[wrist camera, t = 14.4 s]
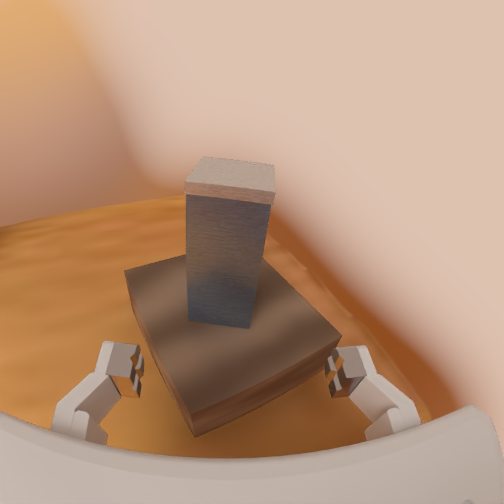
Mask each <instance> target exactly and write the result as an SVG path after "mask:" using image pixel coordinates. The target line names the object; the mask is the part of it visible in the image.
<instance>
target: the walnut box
mask: <svg viewBox="0 0 504 504" xmlns="http://www.w3.org/2000/svg"><path fill="white" fill-rule="evenodd" d="M124 272H125V277H126V282H127V287H128V291H129V296H130V300H131V305H132V309H133V312H134V314H135V317H136V319H137V322H138V324H139V327H140V329H141V331H142V334H143V336H144V338H145V341H146V343H147V345H148V348H149V350H150V352H151V354H152V357H153V359H154V361H155V363H156V365H157V367H158V369H159V372H160V374H161V376H162V378H163V380H164V382H165V384H166V386H167V388H168V390H169V392H170V394H171V396H172V397H173V399H174V401H175V403H176V405H177V407H178V409H179V411H180V412H181V414H182V416H183V418H184V420H185V421H186V423H187V425H188V426H189V428H190V430H191V432H192V433H193V435H194V437H197V436H200V435H202V434H204V433H207V432H209V431H211V430H213V429H216V428H218V427H220V426H222V425H224V424H226V423H228V422H231V421H233V420H235V419H237V418H239V417H241V416H243V415H245V414H247V413H249V412H251V411H253V410H255V409H257V408H258V407H260V406H262V405H264V404H266V403H268V402H270V401H271V400H273V399H275V398H277V397H279V396H280V395H282V394H284V393H286V392H287V391H289V390H291V389H292V388H294V387H296V386H298V385H299V384H301V383H302V382H304V381H306V380H307V379H309V378H311V377H312V376H314V375H315V374H317V373H319V372H320V371H322V370H323V369H324V367H325V362H326V360H327V358H328V357H330V356H331V351H332V349H334V348H336V346H337V344H338V342H339V341H340V339H341V337H342V335H341V334H340V333H339V332H338V331H337V330H336V329H335V328H334V327H333V326H332V325H331V324H330V323H329V322H328V321H327V320H326V319H325V318H324V317H323V316H322V315H321V314H320V313H319V312H318V311H317V310H316V309H315V308H314V307H313V306H312V305H310V304H309V303H308V302H307V301H306V300H305V299H304V298H303V297H302V296H301V295H300V294H299V293H298V292H297V291H296V290H295V289H294V288H293V287H292V286H291V285H290V284H289V283H288V282H287V281H286V280H285V279H284V278H283V277H282V276H281V275H280V274H279V273H278V272H277V271H276V270H274V269H273V268H272V267H271V266H270V265H269V264H268V263H267V262H266V261H265V260H264V259H263V258H262V262H261V267H260V273H259V278H258V284H257V289H256V295H255V300H254V306H253V311H252V317H251V322H250V328H249V329H247V328H239V327H231V326H224V325H217V324H210V323H203V322H197V321H191V320H188V304H187V276H186V255H182V256H178V257H174V258H170V259H166V260H163V261H159V262H155V263H151V264H147V265H144V266H140V267H136V268H132V269H129V270H125V271H124Z"/></svg>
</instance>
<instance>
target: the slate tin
mask: <svg viewBox="0 0 504 504" xmlns="http://www.w3.org/2000/svg"><path fill="white" fill-rule="evenodd" d="M184 194H186V276H187V304H188V320H191V321H197V322H203V323H210V324H217V325H224V326H231V327H239V328H247V329H249V328H250V322H251V317H252V311H253V306H254V300H255V295H256V289H257V284H258V278H259V273H260V267H261V262H262V256H263V250H264V245H265V239H266V233H267V227H268V222H269V216H270V210H271V205H273V204H274V198H275V172H274V165H270V164H263V163H256V162H248V161H240V160H232V159H223V158H213V157H203V158H202V159H201V160H200V162H199V163H198V164H197V166H196V167H195V168H194V169H193V171H192V172H191V173H190V175H189V176H188V177H187V178H186V180H185V181H184Z"/></svg>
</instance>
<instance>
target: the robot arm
mask: <svg viewBox="0 0 504 504" xmlns="http://www.w3.org/2000/svg"><path fill="white" fill-rule="evenodd" d="M140 350H141V349H140V347H139V345H136V344H127V343H120V342H113V341H106V340H105V341H104V342H103V344H102V346H101V350H100V353H99V357H98V360H97V364H96V367H95V371H94V373H93V372H91V373H90V374H89V375H87V376H86V377H85V378H84V379H83V380H82V381H81V382H80V383H79V384H78V385H77V386H75V387H74V388H73V389H72V390H71V391H70V392H69V393H68V394H67V395H66V396H65V397H63V398H62V399H61V400H60V401H59V402H58V403H57V405H56V409H55V413H54V417H53V421H52V425H51V430H49V429H46V428H43V427H40V426H37V425H35V424H32V423H29V422H27V421H24V420H22V419H20V418H17V417H15V416H13V415H10V414H8V413H6V412H4V411H2V410H0V504H504V458H503V454H502V450H501V446H500V442H499V439H498V435H497V432H496V429H495V426H494V424H493V422H492V420H491V418H490V417H489V416H488V415H487V414H486V413H485V412H483V411H482V410H481V409H479V408H478V407H476V406H475V405H467V406H465V407H463V408H461V409H458V410H456V411H454V412H452V413H450V414H447V415H445V416H442V417H440V418H438V419H435V420H432V421H429V422H427V423H424V424H421V421H420V418H419V415H418V413H417V410H416V407H415V405H414V402H413V401H412V400H411V399H409V398H408V397H407V396H406V395H405V394H403V393H402V392H401V391H400V390H399V389H397V388H396V387H395V386H394V385H393V384H391V383H390V382H389V381H388V380H387V379H386V378H384V377H383V376H382V375H381V374H377V372H376V369H375V366H374V364H373V361H372V359H371V356H370V354H369V351H368V349H367V347H366V346H365V345H360V346H348V347H337V348H334V349H332V351H331V355H332V356H330V357H328V358H327V360H326V362H325V374H326V378H328V379H329V380H330V384H329V389H330V393H331V397H332V398H337V397H345V396H349V398H350V399H351V401H352V402H353V403H354V404H355V405H356V406H357V407H358V408H359V409H360V410H361V411H362V413H363V414H364V415H365V416H366V417H367V418H368V419H369V420H370V421H371V422H372V424H371V425H370V426H368V427H367V428H366V429H365V431H364V434H365V438H366V441H365V442H361V443H357V444H352V445H348V446H343V447H338V448H333V449H327V450H321V451H315V452H308V453H301V454H292V455H283V456H271V457H255V458H197V457H181V456H170V455H160V454H152V453H145V452H138V451H132V450H126V449H121V448H116V447H111V446H106V444H107V436H108V435H107V433H106V432H105V431H104V430H103V429H102V428H101V427H100V426H99V425H98V424H99V423H100V422H101V421H102V419H103V418H104V417H105V416H106V415H107V413H108V412H109V411H110V410H111V409H112V407H113V406H114V405H115V404H116V403H117V401H118V400H119V399H120V398H121V396H125V397H134V398H140V391H141V382H140V380H139V379H140V378H141V377H142V376H143V372H144V359H143V356H142V355H141V354H140Z"/></svg>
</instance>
